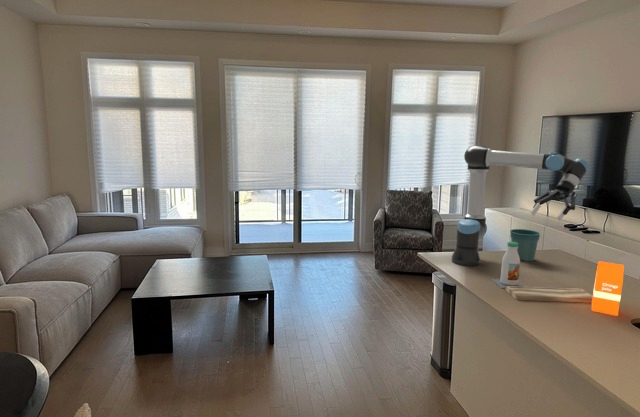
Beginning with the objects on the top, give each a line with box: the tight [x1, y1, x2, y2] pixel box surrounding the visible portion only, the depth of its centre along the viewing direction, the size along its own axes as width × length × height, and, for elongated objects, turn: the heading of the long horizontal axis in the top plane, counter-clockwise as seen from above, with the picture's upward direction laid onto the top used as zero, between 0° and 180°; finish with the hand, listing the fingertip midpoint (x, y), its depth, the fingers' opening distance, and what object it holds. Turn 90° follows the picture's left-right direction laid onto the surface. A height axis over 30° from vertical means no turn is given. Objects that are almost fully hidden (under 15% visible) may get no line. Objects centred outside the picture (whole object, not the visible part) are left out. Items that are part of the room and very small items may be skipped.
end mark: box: [491, 278, 526, 290], centre depth 200 cm, size 12×12×1 cm
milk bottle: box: [499, 241, 521, 286], centre depth 199 cm, size 8×8×20 cm
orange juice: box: [591, 260, 625, 316], centre depth 170 cm, size 8×9×20 cm
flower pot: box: [509, 228, 542, 262], centre depth 246 cm, size 16×16×16 cm
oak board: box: [504, 285, 593, 304], centre depth 186 cm, size 12×34×2 cm, turn 89°
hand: (545, 216), depth 205 cm, fingers open, 13 cm apart
